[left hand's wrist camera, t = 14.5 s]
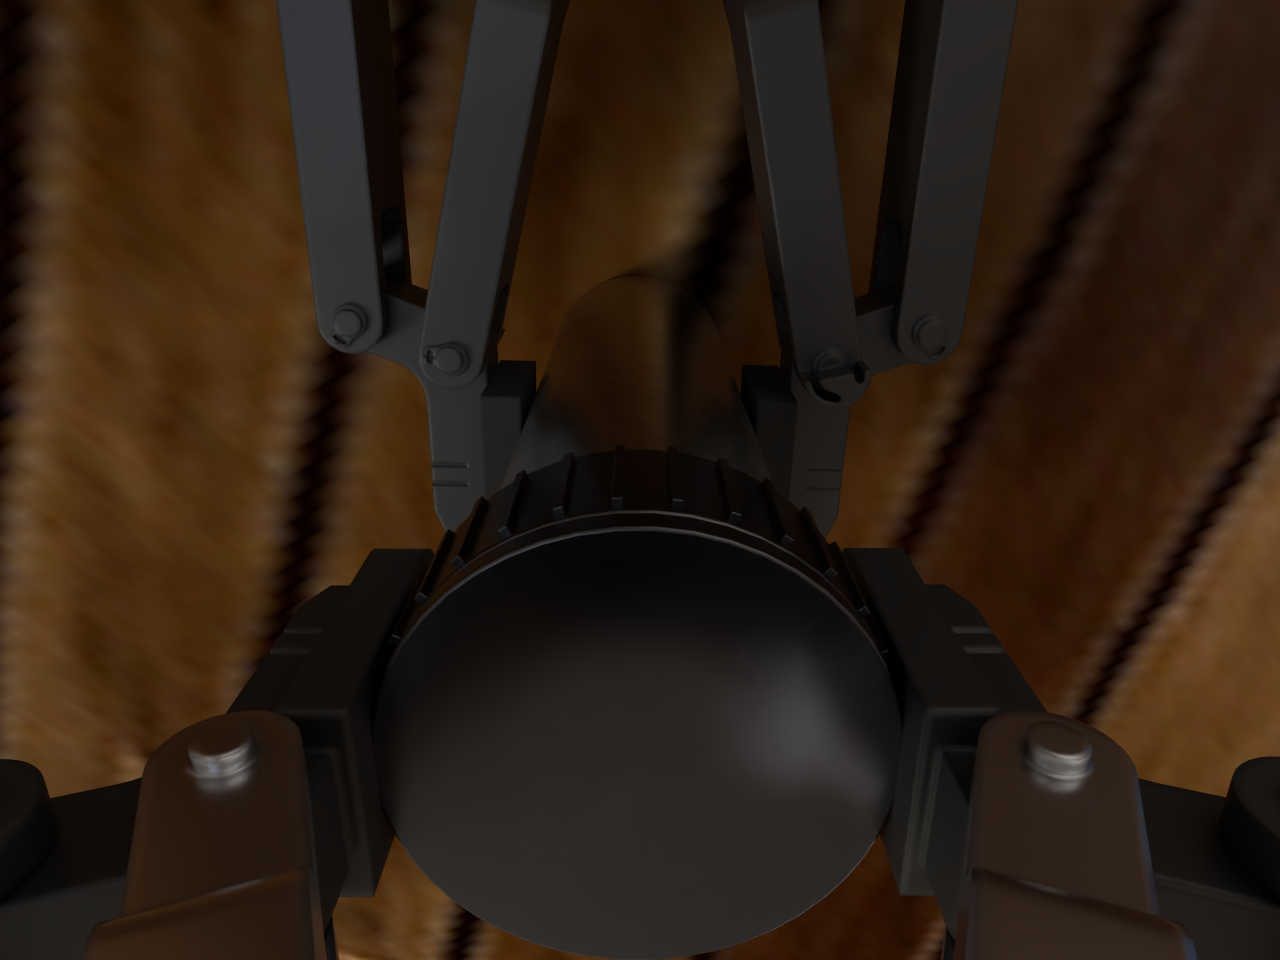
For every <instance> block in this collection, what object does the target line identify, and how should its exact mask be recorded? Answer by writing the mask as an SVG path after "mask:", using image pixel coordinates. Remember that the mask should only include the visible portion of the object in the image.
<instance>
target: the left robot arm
mask: <svg viewBox="0 0 1280 960" xmlns="http://www.w3.org/2000/svg"><path fill="white" fill-rule="evenodd" d="M842 554H843V556H844V558H845V560H846V562H847V565H848V567H849V569H850V571H851V573H852V575H853V577H854V580H856V582H857V584H858V586H859V588H860V590H861V592H862V595H863V597H864V599H865V601H866V603H867V605H868V607H869V609H870V612H871V614H872V616H873V618H874V620H875V622H876V624H877V627H878V629H879V631H880V633H881V635H882V637H883V639H884V641H885V644H886V646H887V648H888V650H889V653H890V656H891V658H890V659H887V660H885V662H886V664H887V667H888V669H889V672H890V675H891V678H892V680H893V683H894V686H895V688H896V691H897V694H898V699H899V704H900V709H901V714H902V720H903V732H902V741H901V750H900V757H899V765H898V772H897V780H896V787H895V793H894V800H893V805H892V808H891V810H890V813H889V815H888V817H887V819H886V821H885V823H884V825H883V828H882V830H881V832H880V836H881V839H882V842H883V845H884V848H885V851H886V854H887V857H888V860H889V863H890V866H891V869H892V872H893V875H894V878H895V881H896V884H897V887H898V890H899V893H900V895H935V897H936V900H937V903H938V905H939V908H940V911H941V913H942V916H943V919H944V921H945V924H946V929H945V934H944V940H943V946H942V956H941V960H1280V757H1259V758H1255V759H1251V760H1248V761H1246V762H1244V763H1242V764H1241V765H1240V766H1239V767H1238V768H1236V770H1235V772H1234V774H1233V777H1232V780H1231V783H1230V786H1229V790H1228V793H1227V796H1226V797H1221V796H1216V795H1212V794H1207V793H1202V792H1197V791H1193V790H1188V789H1183V788H1178V787H1174V786H1169V785H1164V784H1159V783H1155V782H1151V781H1147V780H1143V779H1139V778H1138V775H1137V771H1136V768H1135V765H1134V763H1133V762H1132V760H1131V758H1130V756H1129V755H1128V754H1127V753H1126V752H1125V751H1124V749H1123V748H1122V747H1121V746H1119V745H1118V744H1117V743H1116V742H1115V741H1114V740H1112V739H1111V738H1110V737H1108V736H1107V735H1105V734H1104V733H1102V732H1100V731H1099V730H1097V729H1095V728H1093V727H1091V726H1089V725H1087V724H1085V723H1082V722H1080V721H1077V720H1075V719H1072V718H1069V717H1066V716H1062V715H1058V714H1054V713H1048V712H1047V711H1046V709H1045V708H1044V706H1043V705H1042V703H1041V702H1040V701H1039V699H1038V698H1037V696H1036V695H1035V693H1034V692H1033V690H1032V689H1031V687H1030V686H1029V684H1028V683H1027V682H1026V680H1025V679H1024V677H1023V676H1022V674H1021V673H1020V671H1019V670H1018V668H1017V667H1016V665H1015V664H1014V663H1013V661H1012V660H1011V658H1010V657H1009V655H1008V654H1007V653H1004V648H1003V646H1002V645H1001V644H1000V642H999V641H998V639H997V638H996V636H995V635H994V633H990V627H989V626H988V625H987V623H986V622H985V620H984V619H983V617H982V616H981V614H980V613H979V611H978V610H977V608H976V607H975V606H974V605H973V604H972V603H970V602H969V601H967V600H966V599H964V598H963V597H962V596H960V595H959V594H957V593H956V592H954V591H953V590H951V589H950V588H948V587H947V586H945V585H925V584H924V582H923V581H922V579H921V577H920V576H919V574H918V572H917V571H916V569H915V568H914V566H913V564H912V563H911V561H910V559H909V558H908V556H907V554H906V553H905V551H904V550H903V549H902V548H844V549H843V551H842ZM433 557H434V553H433V551H432V550H431V549H373V550H372V551H371V552H370V554H369V555H368V557H367V558H366V560H365V562H364V563H363V565H362V566H361V568H360V570H359V571H358V573H357V575H356V576H355V578H354V579H353V581H352V583H351V584H350V586H329V587H328V588H326V589H325V590H324V591H322V592H321V593H319V594H318V595H316V596H315V597H313V598H312V599H310V600H309V601H307V602H306V603H304V604H303V605H301V606H300V607H299V609H298V610H297V612H296V613H295V615H294V616H293V617H292V619H291V620H290V622H289V623H288V625H287V626H286V628H285V629H284V634H281V635H280V636H279V638H278V639H277V641H276V642H275V643H274V645H273V646H272V648H271V649H270V655H266V656H265V658H264V659H263V661H262V662H261V664H260V665H259V666H258V668H257V669H256V671H255V672H254V674H253V675H252V677H251V678H250V679H249V681H248V682H247V684H246V685H245V687H244V688H243V690H242V691H241V692H240V694H239V695H238V697H237V698H236V700H235V701H234V702H233V704H232V705H231V707H230V708H229V710H228V711H227V713H226V714H222V715H218V716H214V717H211V718H208V719H205V720H203V721H200V722H198V723H195V724H193V725H191V726H189V727H187V728H185V729H183V730H181V731H180V732H178V733H176V734H175V735H173V736H172V737H170V738H169V739H168V740H166V741H165V742H164V743H163V744H162V745H161V746H159V747H158V748H157V749H156V751H155V752H154V753H153V754H152V755H151V756H150V758H149V760H148V762H147V763H146V765H145V768H144V771H143V775H142V777H141V778H138V779H135V780H132V781H128V782H124V783H120V784H116V785H112V786H107V787H102V788H97V789H93V790H88V791H83V792H78V793H74V794H69V795H64V796H59V797H55V798H50V797H49V794H48V790H47V787H46V784H45V781H44V778H43V776H42V773H41V772H40V771H39V770H38V769H37V768H36V767H35V766H33V765H31V764H29V763H27V762H23V761H19V760H10V759H0V960H339V956H338V946H337V940H336V935H335V929H334V923H333V917H332V913H333V911H334V908H335V905H336V903H337V900H338V898H339V897H374V895H375V892H376V889H377V886H378V883H379V880H380V877H381V874H382V871H383V868H384V865H385V862H386V859H387V856H388V853H389V851H390V848H391V845H392V842H393V839H394V836H395V833H394V831H393V829H392V827H391V825H390V823H389V821H388V819H387V816H386V814H385V812H384V810H383V807H382V804H381V798H380V792H379V785H378V778H377V770H376V763H375V756H374V748H373V739H372V730H371V721H372V716H373V710H374V705H375V699H376V695H377V692H378V689H379V686H380V683H381V681H382V678H383V675H384V672H385V669H386V667H387V665H388V662H389V660H390V658H391V656H392V654H393V652H394V650H395V648H396V645H393V644H391V643H389V641H390V639H391V636H392V634H393V632H394V630H395V628H396V626H397V624H398V622H399V620H400V617H401V615H402V613H403V611H404V609H405V607H406V605H407V603H408V601H409V599H410V596H411V594H412V592H413V590H414V588H415V586H416V584H417V582H418V580H419V578H420V576H421V573H422V571H423V569H424V567H427V568H429V566H430V564H431V562H432V559H433Z"/></svg>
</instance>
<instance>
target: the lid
mask: <svg viewBox="0 0 1280 960" xmlns="http://www.w3.org/2000/svg"><path fill="white" fill-rule="evenodd" d="M389 643H391V644H393V645H396V648H395V650H394V652H393V654H392V656H391V658H390V660H389V662H388V665H387V667H386V669H385V672H384V675H383V678H382V681H381V683H380V686H379V689H378V692H377V695H376V699H375V705H374V710H373V716H372V721H371V730H372V739H373V748H374V756H375V763H376V770H377V778H378V785H379V792H380V798H381V804H382V807H383V810H384V812H385V814H386V816H387V819H388V821H389V823H390V825H391V827H392V829H393V831H394V833H395V835H396V837H397V838H398V840H399V841H400V843H401V844H402V846H403V847H404V849H405V850H406V852H407V853H408V855H409V856H410V858H411V859H412V860H413V861H414V862H415V864H416V865H417V866H418V867H419V868H420V869H421V870H422V871H423V873H424V874H425V875H426V876H427V877H428V878H429V879H430V881H432V882H433V883H434V884H435V885H436V886H437V887H438V888H440V889H441V890H442V891H443V892H444V893H445V894H446V895H447V896H449V897H450V898H451V899H452V900H453V901H455V902H456V903H458V904H459V905H461V906H462V907H463V908H465V909H466V910H468V911H469V912H471V913H472V914H474V915H475V916H476V917H478V918H480V919H482V920H484V921H486V922H488V923H489V924H491V925H493V926H495V927H497V928H499V929H501V930H502V931H505V932H507V933H509V934H512V935H514V936H517V937H519V938H522V939H524V940H527V941H529V942H531V943H535V944H538V945H542V946H545V947H548V948H552V949H555V950H559V951H562V952H568V953H573V954H578V955H583V956H589V957H596V958H607V959H618V960H657V959H667V958H677V957H686V956H691V955H696V954H701V953H706V952H712V951H716V950H719V949H723V948H726V947H729V946H733V945H736V944H739V943H743V942H746V941H748V940H750V939H753V938H755V937H758V936H760V935H762V934H765V933H767V932H770V931H772V930H774V929H776V928H778V927H779V926H781V925H783V924H785V923H787V922H789V921H790V920H792V919H794V918H796V917H798V916H799V915H801V914H802V913H804V912H805V911H807V910H808V909H809V908H811V907H812V906H814V905H815V904H816V903H818V902H819V901H821V900H822V899H824V898H825V897H826V896H827V895H828V894H829V893H830V892H831V891H832V890H834V889H835V888H836V887H837V886H838V885H839V884H840V883H841V882H843V881H844V880H845V879H846V878H847V876H848V875H849V874H850V873H851V872H852V871H853V870H854V868H855V867H856V866H857V865H858V864H859V863H860V861H861V860H862V859H863V858H864V857H865V855H866V854H867V852H868V851H869V849H870V848H871V846H872V844H873V843H874V841H875V840H876V838H877V837H878V835H879V834H880V832H881V830H882V828H883V825H884V823H885V821H886V819H887V817H888V815H889V813H890V810H891V808H892V805H893V800H894V793H895V787H896V780H897V772H898V765H899V757H900V750H901V741H902V732H903V720H902V714H901V709H900V704H899V699H898V694H897V691H896V688H895V686H894V683H893V680H892V678H891V675H890V672H889V669H888V667H887V664H886V662H885V660H887V659H890V658H891V656H890V653H889V650H888V648H887V646H886V644H885V641H884V639H883V637H882V635H881V633H880V631H879V629H878V627H877V624H876V622H875V620H874V618H873V616H872V614H871V612H870V609H869V607H868V605H867V603H866V601H865V599H864V597H863V595H862V592H861V590H860V588H859V586H858V584H857V582H856V580H854V577H853V575H852V573H851V571H850V569H849V567H848V565H847V562H846V560H845V558H844V556H843V554H842V552H841V550H840V547H839V546H838V544H837V543H836V542H833V543H831V544H830V545H829V543H828V542H827V541H826V539H825V538H824V537H823V535H822V534H821V533H820V532H819V530H818V528H817V525H816V523H815V521H814V518H813V516H812V514H811V512H810V511H809V510H808V509H807V508H806V507H803V508H802V509H801V510H799V509H798V508H797V507H796V506H795V505H794V504H793V503H791V502H790V501H788V500H787V499H786V498H784V497H783V496H782V495H780V494H779V493H778V492H776V489H775V487H774V484H773V482H772V481H770V480H769V479H767V478H765V479H764V480H763V482H760V481H758V480H757V479H755V478H753V477H751V476H749V475H747V474H746V473H744V472H741V471H739V470H736V469H734V468H731V467H729V464H728V460H726V459H723V458H720V457H719V458H718V460H717V462H716V461H713V460H709V459H705V458H701V457H697V456H693V455H689V454H685V453H678V449H677V447H672V446H668V448H667V451H660V450H625V445H615V450H614V451H606V452H598V453H590V454H586V455H582V456H578V457H574V454H573V452H572V453H568V454H564V457H563V460H562V461H559V462H556V463H554V464H551V465H549V466H546V467H544V468H541V469H538V470H536V471H533V472H531V473H529V474H527V473H526V471H525V470H523V471H521V472H519V473H517V474H516V477H515V480H514V482H513V483H511V484H509V485H507V486H506V487H504V488H502V489H501V490H500V491H498V492H497V493H496V494H494V495H493V496H492V497H490V498H489V499H488V500H486V499H485V498H484V497H483V496H481V497H480V498H479V499H478V500H477V501H476V502H475V505H474V507H473V509H472V512H471V514H470V516H469V517H468V518H467V519H466V520H465V521H464V522H463V523H462V524H461V525H460V526H459V527H458V529H457V530H456V531H455V533H454V532H453V531H451V530H450V529H448V530H447V532H446V533H445V534H444V536H443V538H442V540H441V542H440V544H439V547H438V549H437V551H436V553H435V555H434V557H433V559H432V562H431V564H430V566H429V568H427V567H424V569H423V571H422V573H421V576H420V578H419V580H418V582H417V584H416V586H415V588H414V590H413V592H412V594H411V596H410V599H409V601H408V603H407V605H406V607H405V609H404V611H403V613H402V615H401V617H400V620H399V622H398V624H397V626H396V628H395V630H394V632H393V634H392V636H391V639H390V641H389Z"/></svg>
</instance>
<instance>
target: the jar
mask: <svg viewBox="0 0 1280 960" xmlns="http://www.w3.org/2000/svg"><path fill="white" fill-rule="evenodd" d="M615 445H625V450H660V451H667V448H668V446H672V447H677V449H678V453H685V454H689V455H693V456H697V457H701V458H705V459H709V460H713V461H716V462H717V460H718V458H719V457H720V458H723V459H726V460H728V464H729V467H731V468H734V469H736V470H739V471H741V472H744V473H746V474H747V475H749V476H751V477H753V478H755V479H757V480H758V481H760V482H763V480H764V479H765V478H767V479H769V480H770V481H772V480H771V477H770V474H769V471H768V469H767V466H766V463H765V460H764V458H763V455H762V452H761V449H760V447H759V444H758V441H757V439H756V436H755V433H754V430H753V428H752V425H751V422H750V419H749V417H748V414H747V411H746V409H745V406H744V403H743V400H742V398H741V395H740V392H739V389H738V387H737V384H736V381H735V378H734V376H733V373H732V370H731V368H730V365H729V362H728V359H727V357H726V354H725V351H724V348H723V346H722V343H721V340H720V337H719V335H718V332H717V329H716V327H715V324H714V322H713V320H712V318H711V317H710V315H709V313H708V312H707V310H706V309H705V308H704V306H703V305H702V304H701V303H700V302H699V301H698V300H697V299H696V298H695V297H694V296H693V295H692V294H691V293H689V292H688V291H687V290H686V289H684V288H682V287H680V286H679V285H677V284H675V283H673V282H670V281H668V280H665V279H661V278H658V277H653V276H646V275H631V276H624V277H619V278H615V279H611V280H609V281H606V282H604V283H602V284H600V285H598V286H596V287H595V288H593V289H591V290H590V291H588V292H587V293H586V294H585V295H583V296H582V297H581V298H580V299H579V300H578V301H577V302H576V303H575V304H574V306H573V307H572V308H571V310H570V311H569V312H568V314H567V316H566V318H565V319H564V321H563V323H562V326H561V329H560V331H559V334H558V336H557V339H556V342H555V345H554V347H553V350H552V353H551V355H550V358H549V361H548V363H547V366H546V369H545V371H544V374H543V377H542V379H541V382H540V385H539V387H538V390H537V393H536V396H535V398H534V401H533V404H532V406H531V409H530V412H529V414H528V417H527V420H526V422H525V425H524V428H523V430H522V433H521V436H520V439H519V441H518V444H517V447H516V449H515V452H514V455H513V457H512V460H511V463H510V465H509V468H508V471H507V473H506V476H505V479H504V481H503V484H502V487H501V489H502V488H504V487H506V486H507V485H509V484H511V483H513V482H514V480H515V477H516V474H517V473H519V472H521V471H523V470H525V471H526V473H527V474H529V473H531V472H533V471H536V470H538V469H541V468H544V467H546V466H549V465H551V464H554V463H556V462H559V461H562V460H563V457H564V454H568V453H572V452H573V454H574V457H578V456H582V455H586V454H590V453H598V452H606V451H614V450H615Z"/></svg>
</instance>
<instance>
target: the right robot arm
mask: <svg viewBox="0 0 1280 960" xmlns="http://www.w3.org/2000/svg"><path fill="white" fill-rule="evenodd" d="M276 1H277V9H278V17H279V25H280V33H281V41H282V49H283V57H284V65H285V73H286V81H287V88H288V96H289V104H290V112H291V120H292V128H293V136H294V144H295V152H296V160H297V168H298V176H299V184H300V192H301V200H302V208H303V216H304V224H305V232H306V240H307V248H308V256H309V263H310V271H311V279H312V287H313V295H314V303H315V311H316V319H317V324H318V327H319V330H320V333H321V335H322V336H323V337H324V339H325V340H326V341H327V343H328V344H329V345H331V346H332V347H334V348H335V349H337V350H339V351H340V352H345V353H350V354H357V353H362V352H368V353H371V354H374V355H377V356H379V357H382V358H385V359H387V360H390V361H393V362H396V363H398V364H400V365H402V366H404V367H406V368H407V369H409V370H410V371H411V372H412V373H413V374H415V376H416V377H417V378H418V380H419V381H420V382H421V384H422V386H423V388H424V391H425V394H426V399H427V411H428V425H429V439H430V453H431V462H432V467H431V468H432V481H433V496H434V510H435V512H436V514H437V516H438V518H439V520H440V522H441V524H442V526H443V528H444V530H445V532H447V530H448V529H450V530H451V531H453V532H455V531H456V530H457V529H458V527H459V526H460V525H461V524H462V523H463V522H464V521H465V520H466V519H467V518H468V517H469V516H470V514H471V512H472V509H473V507H474V505H475V502H476V501H477V500H478V499H479V498H480V497H481V496H483V497H484V498H485V499H486V500H488V499H489V498H490V497H492V496H493V495H494V494H496V493H497V492H498V491H500V490H501V487H502V484H503V481H504V479H505V476H506V473H507V471H508V468H509V465H510V463H511V460H512V457H513V455H514V452H515V449H516V447H517V444H518V441H519V439H520V436H521V433H522V430H523V428H524V425H525V422H526V420H527V417H528V414H529V412H530V409H531V406H532V404H533V401H534V398H535V396H536V361H510V360H501V361H500V363H499V364H498V349H497V345H498V343H499V342H500V340H501V338H502V336H503V334H504V331H505V329H502V326H503V321H504V316H505V311H506V306H507V301H508V296H509V291H510V286H511V281H512V276H513V271H514V266H515V261H516V256H517V251H518V246H519V241H520V236H521V231H522V226H523V221H524V216H525V211H526V206H527V201H528V196H529V191H530V186H531V181H532V176H533V171H534V166H535V161H536V156H537V151H538V146H539V141H540V136H541V131H542V126H543V121H544V116H545V111H546V106H547V101H548V95H549V90H550V85H551V80H552V75H553V70H554V65H555V60H556V55H557V50H558V45H559V40H560V35H561V30H562V26H563V22H564V18H565V16H566V13H567V10H568V6H569V2H570V0H476V4H475V10H474V16H473V22H472V28H471V34H470V40H469V46H468V52H467V59H466V65H465V71H464V77H463V83H462V89H461V95H460V101H459V107H458V113H457V119H456V125H455V131H454V137H453V143H452V149H451V155H450V161H449V167H448V173H447V179H446V186H445V192H444V198H443V204H442V210H441V216H440V222H439V228H438V234H437V240H436V246H435V252H434V258H433V264H432V270H431V276H430V282H429V288H428V290H426V289H423V288H420V287H418V286H415V285H412V279H411V267H410V255H409V243H408V232H407V220H406V208H405V196H404V184H403V172H402V160H401V149H400V137H399V125H398V113H397V101H396V89H395V78H394V66H393V54H392V42H391V30H390V18H389V6H388V0H276ZM723 3H724V8H725V12H726V16H727V19H728V22H729V26H730V31H731V37H732V43H733V50H734V56H735V63H736V69H737V75H738V82H739V88H740V95H741V101H742V108H743V114H744V121H745V127H746V133H747V140H748V146H749V153H750V159H751V166H752V172H753V178H754V185H755V191H756V198H757V204H758V211H759V217H760V224H761V230H762V236H763V243H764V249H765V256H766V262H767V269H768V275H769V281H770V288H771V294H772V301H773V307H774V314H775V320H776V327H777V333H778V339H779V344H780V347H781V349H782V350H781V363H780V370H779V368H778V366H760V365H743V368H742V383H741V398H742V400H743V403H744V406H745V409H746V411H747V414H748V417H749V419H750V422H751V425H752V428H753V430H754V433H755V436H756V439H757V441H758V444H759V447H760V449H761V452H762V455H763V458H764V460H765V463H766V466H767V469H768V471H769V474H770V477H771V480H772V482H773V484H774V487H775V489H776V492H778V493H779V494H780V495H782V496H783V497H784V498H786V499H787V500H788V501H790V502H791V503H793V504H794V505H795V506H796V507H797V508H798V509H799V510H801V509H802V508H803V507H806V508H807V509H808V510H809V511H810V512H811V514H812V516H813V518H814V521H815V523H816V525H817V528H818V530H819V532H820V533H821V534H822V535H823V537H824V538H826V536H827V535H828V533H829V531H830V529H831V527H832V526H833V524H834V522H835V520H836V518H837V517H838V508H839V500H840V488H841V482H842V470H843V464H844V455H845V446H846V438H847V429H848V420H849V411H850V406H851V404H854V403H855V402H856V401H857V400H858V399H860V398H861V397H862V396H863V395H864V394H865V392H866V390H867V388H868V386H869V384H870V377H871V376H873V375H876V374H878V373H880V372H883V371H886V370H889V369H892V368H895V367H898V366H902V365H905V364H908V363H911V362H913V363H917V364H922V365H929V364H935V363H939V362H940V361H942V360H944V359H946V358H947V357H949V356H950V355H951V354H952V352H953V351H954V350H955V349H956V348H957V347H958V344H959V341H960V338H961V336H962V331H963V325H964V319H965V314H966V308H967V302H968V296H969V290H970V284H971V278H972V272H973V266H974V260H975V254H976V248H977V242H978V236H979V230H980V224H981V219H982V213H983V207H984V201H985V195H986V189H987V183H988V177H989V171H990V165H991V159H992V153H993V147H994V141H995V135H996V130H997V124H998V118H999V112H1000V106H1001V100H1002V94H1003V88H1004V82H1005V76H1006V70H1007V64H1008V58H1009V52H1010V46H1011V40H1012V35H1013V29H1014V23H1015V17H1016V11H1017V5H1018V0H905V8H904V16H903V24H902V32H901V39H900V47H899V55H898V63H897V71H896V79H895V87H894V95H893V103H892V110H891V118H890V126H889V134H888V142H887V150H886V158H885V166H884V174H883V182H882V189H881V197H880V205H879V213H878V221H877V229H876V237H875V245H874V253H873V260H872V268H871V276H870V284H869V292H868V294H866V295H863V296H860V297H857V298H854V294H853V286H852V278H851V269H850V261H849V253H848V245H847V236H846V228H845V220H844V212H843V203H842V195H841V187H840V179H839V170H838V162H837V154H836V146H835V137H834V129H833V121H832V113H831V104H830V96H829V88H828V80H827V71H826V63H825V55H824V47H823V38H822V30H821V22H820V14H819V5H818V0H723Z"/></svg>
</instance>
